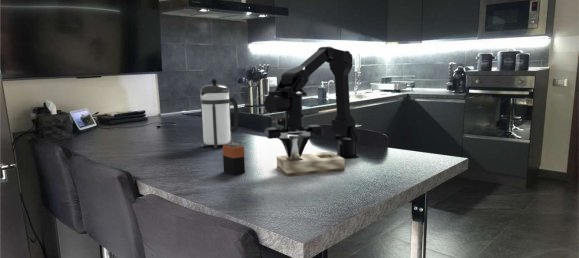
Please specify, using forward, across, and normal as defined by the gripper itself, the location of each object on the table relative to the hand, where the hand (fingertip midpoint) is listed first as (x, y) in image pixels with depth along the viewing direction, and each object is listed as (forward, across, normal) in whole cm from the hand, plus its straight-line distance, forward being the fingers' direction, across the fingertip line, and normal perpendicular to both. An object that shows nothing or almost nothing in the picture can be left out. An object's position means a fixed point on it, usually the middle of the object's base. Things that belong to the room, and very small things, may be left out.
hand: (294, 156), depth 132 cm
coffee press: (+5, +18, -54) cm, 57 cm away
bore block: (+5, -5, 0) cm, 7 cm away
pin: (+2, 0, 0) cm, 2 cm away
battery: (+5, +20, -5) cm, 21 cm away
